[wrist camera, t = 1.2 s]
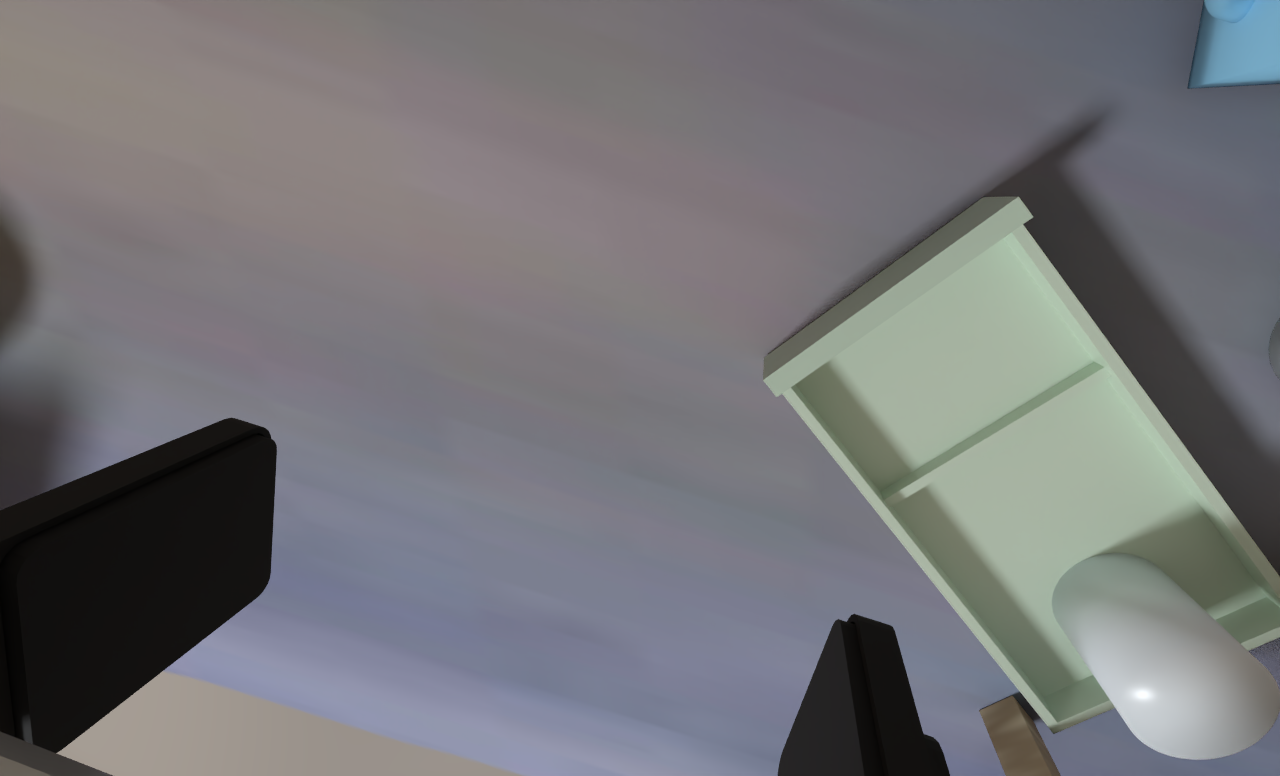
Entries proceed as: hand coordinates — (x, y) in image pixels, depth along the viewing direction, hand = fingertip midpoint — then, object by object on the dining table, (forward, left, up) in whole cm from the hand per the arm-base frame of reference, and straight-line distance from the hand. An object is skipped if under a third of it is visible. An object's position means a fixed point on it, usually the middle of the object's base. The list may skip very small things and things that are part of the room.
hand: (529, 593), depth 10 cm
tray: (-8, +16, -24) cm, 30 cm away
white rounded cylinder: (-8, +24, -24) cm, 34 cm away
